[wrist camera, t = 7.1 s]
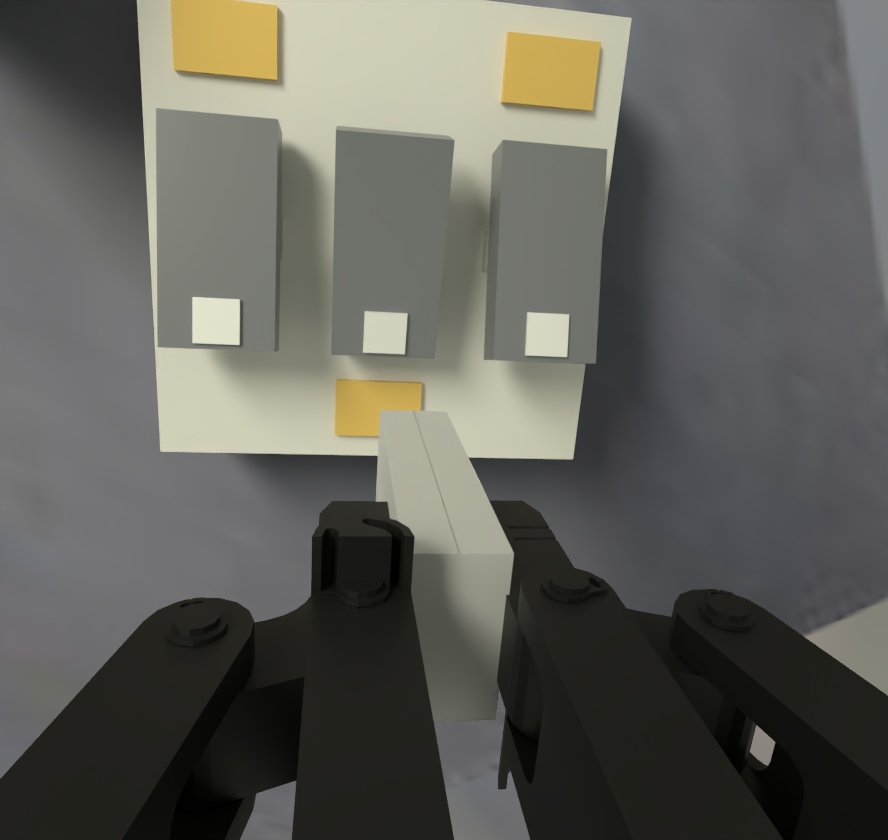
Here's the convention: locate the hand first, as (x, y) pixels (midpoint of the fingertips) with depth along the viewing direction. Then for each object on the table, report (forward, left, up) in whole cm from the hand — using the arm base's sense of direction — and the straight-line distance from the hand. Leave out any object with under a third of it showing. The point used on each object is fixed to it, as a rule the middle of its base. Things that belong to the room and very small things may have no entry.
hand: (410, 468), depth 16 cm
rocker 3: (-4, +6, -12) cm, 14 cm away
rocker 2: (-4, 0, -12) cm, 13 cm away
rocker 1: (-4, -6, -12) cm, 14 cm away
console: (-4, 0, -20) cm, 21 cm away
